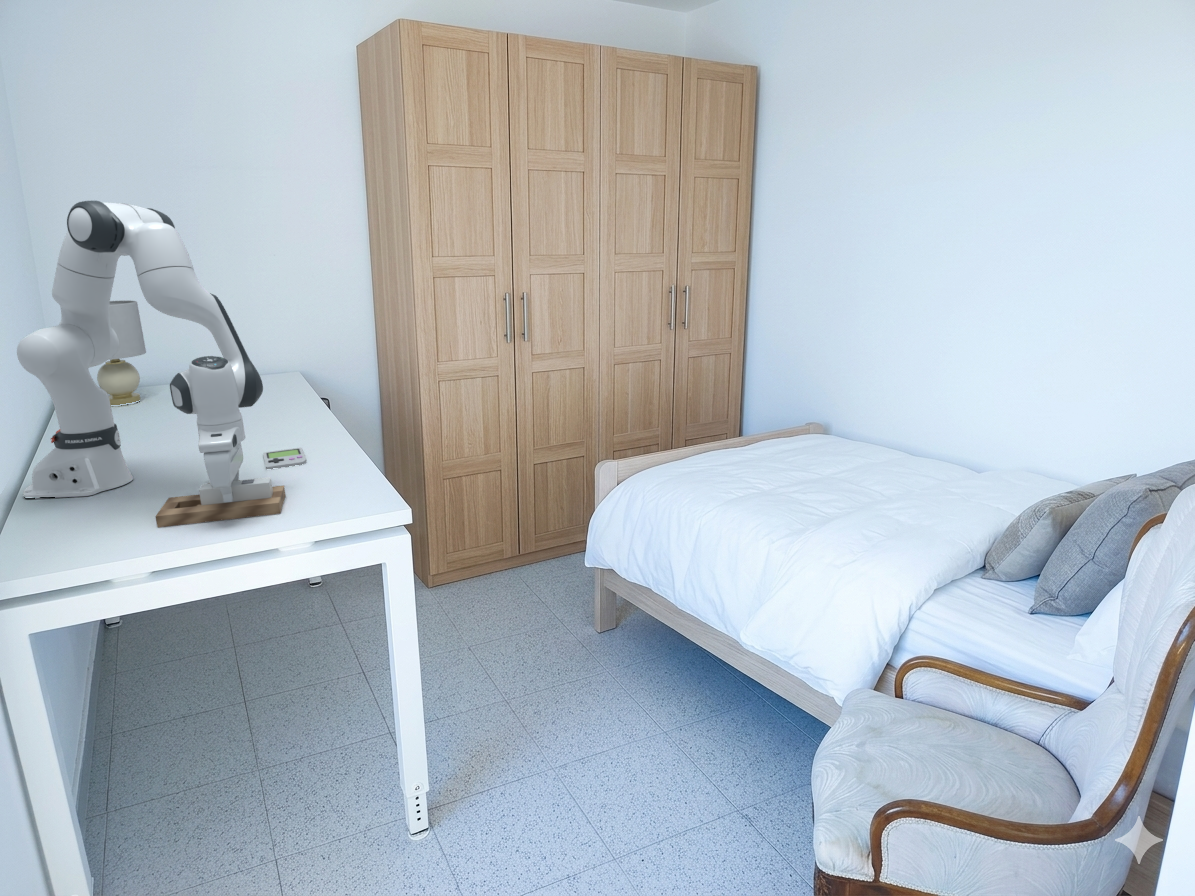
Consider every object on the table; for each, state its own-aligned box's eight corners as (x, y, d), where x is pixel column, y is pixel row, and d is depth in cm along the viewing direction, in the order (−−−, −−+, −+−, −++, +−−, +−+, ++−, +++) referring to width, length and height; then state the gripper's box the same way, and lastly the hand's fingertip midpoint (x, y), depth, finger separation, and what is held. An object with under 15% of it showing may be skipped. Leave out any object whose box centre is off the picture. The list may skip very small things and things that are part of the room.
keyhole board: (157, 527, 164) (155, 516, 163) (170, 508, 175) (168, 497, 174) (280, 513, 170) (278, 502, 169) (285, 495, 181) (284, 485, 180)
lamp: (77, 408, 276) (54, 306, 266) (125, 395, 294) (106, 300, 284) (122, 410, 270) (101, 306, 260) (168, 398, 288) (150, 300, 278)
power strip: (203, 514, 169) (198, 489, 168) (206, 507, 173) (202, 483, 172) (272, 506, 173) (268, 481, 171) (274, 500, 177) (270, 476, 175)
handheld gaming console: (265, 466, 200) (262, 451, 213) (266, 471, 201) (263, 457, 214) (307, 460, 204) (301, 446, 217) (307, 465, 205) (302, 451, 218)
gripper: (214, 423, 177) (224, 481, 181) (196, 447, 158) (207, 512, 162) (244, 420, 179) (254, 478, 182) (230, 444, 160) (240, 508, 163)
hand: (232, 494), depth 172 cm, fingers open, 7 cm apart
